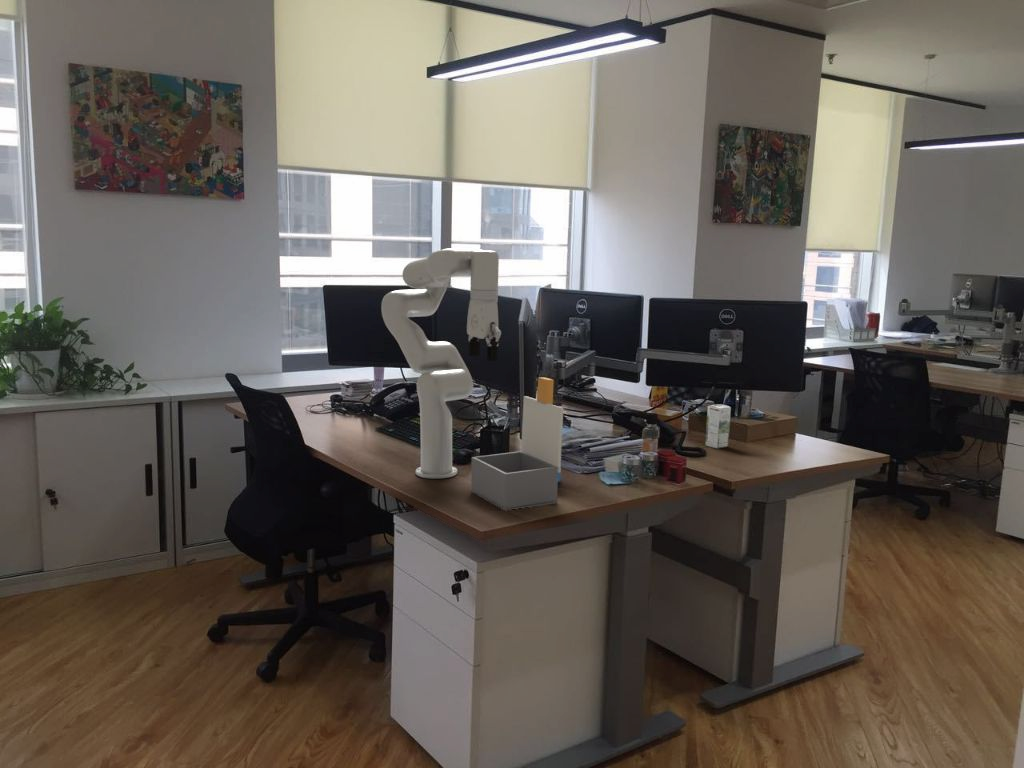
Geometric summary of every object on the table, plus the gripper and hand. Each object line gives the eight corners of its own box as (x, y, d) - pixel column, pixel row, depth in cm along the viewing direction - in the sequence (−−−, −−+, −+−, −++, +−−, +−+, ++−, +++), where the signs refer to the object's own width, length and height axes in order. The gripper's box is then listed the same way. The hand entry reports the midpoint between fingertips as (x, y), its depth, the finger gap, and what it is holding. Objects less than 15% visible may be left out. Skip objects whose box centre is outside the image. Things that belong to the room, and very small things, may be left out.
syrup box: (716, 443, 302) (718, 403, 300) (729, 447, 297) (731, 406, 295) (704, 445, 299) (706, 405, 297) (717, 449, 294) (719, 407, 292)
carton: (471, 491, 241) (471, 457, 239) (520, 484, 248) (521, 451, 247) (505, 511, 223) (505, 474, 222) (557, 502, 231) (557, 467, 229)
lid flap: (524, 373, 243) (530, 373, 244) (521, 450, 247) (527, 450, 248) (562, 384, 226) (568, 383, 227) (557, 466, 229) (564, 466, 230)
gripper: (457, 293, 238) (456, 354, 241) (487, 299, 223) (486, 363, 226) (480, 293, 242) (479, 353, 245) (512, 298, 227) (510, 361, 230)
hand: (482, 358), depth 236 cm, fingers open, 9 cm apart
